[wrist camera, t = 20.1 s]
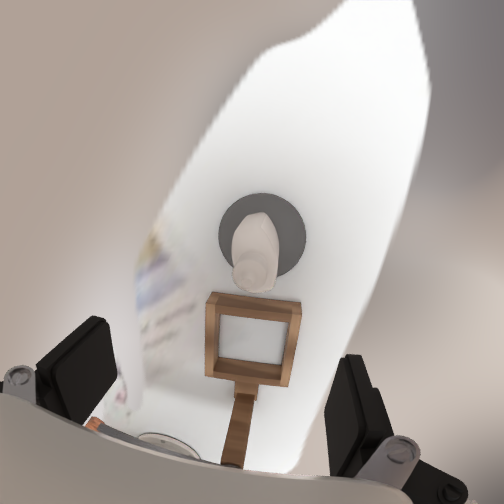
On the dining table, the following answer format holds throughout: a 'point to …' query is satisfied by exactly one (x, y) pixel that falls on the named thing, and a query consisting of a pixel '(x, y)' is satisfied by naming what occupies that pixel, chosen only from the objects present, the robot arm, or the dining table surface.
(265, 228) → the eye dropper bottle
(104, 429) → the ball-tipped grey rod
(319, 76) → the dining table surface
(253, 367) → the wooden frame with post
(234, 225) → the mat
